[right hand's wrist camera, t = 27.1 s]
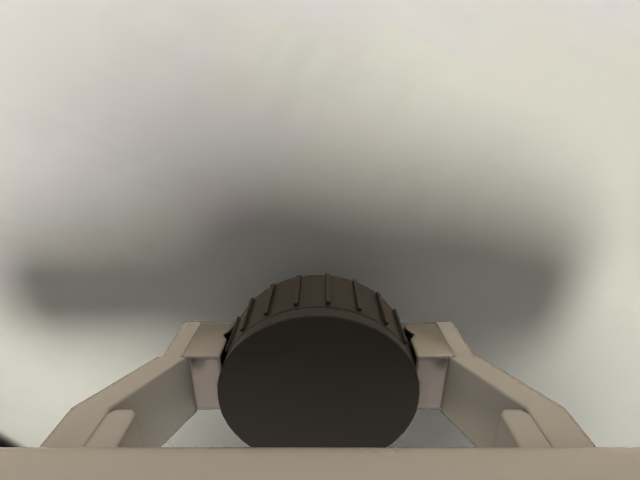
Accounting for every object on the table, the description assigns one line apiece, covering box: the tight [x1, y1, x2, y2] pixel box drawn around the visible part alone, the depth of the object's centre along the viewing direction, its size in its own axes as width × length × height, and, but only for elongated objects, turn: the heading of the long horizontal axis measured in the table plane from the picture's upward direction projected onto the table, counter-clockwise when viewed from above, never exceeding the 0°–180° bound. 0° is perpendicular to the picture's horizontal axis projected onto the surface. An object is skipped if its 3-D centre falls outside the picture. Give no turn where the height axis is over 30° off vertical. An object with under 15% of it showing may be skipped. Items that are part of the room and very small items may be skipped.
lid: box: [217, 274, 420, 448], centre depth 9 cm, size 5×5×2 cm
